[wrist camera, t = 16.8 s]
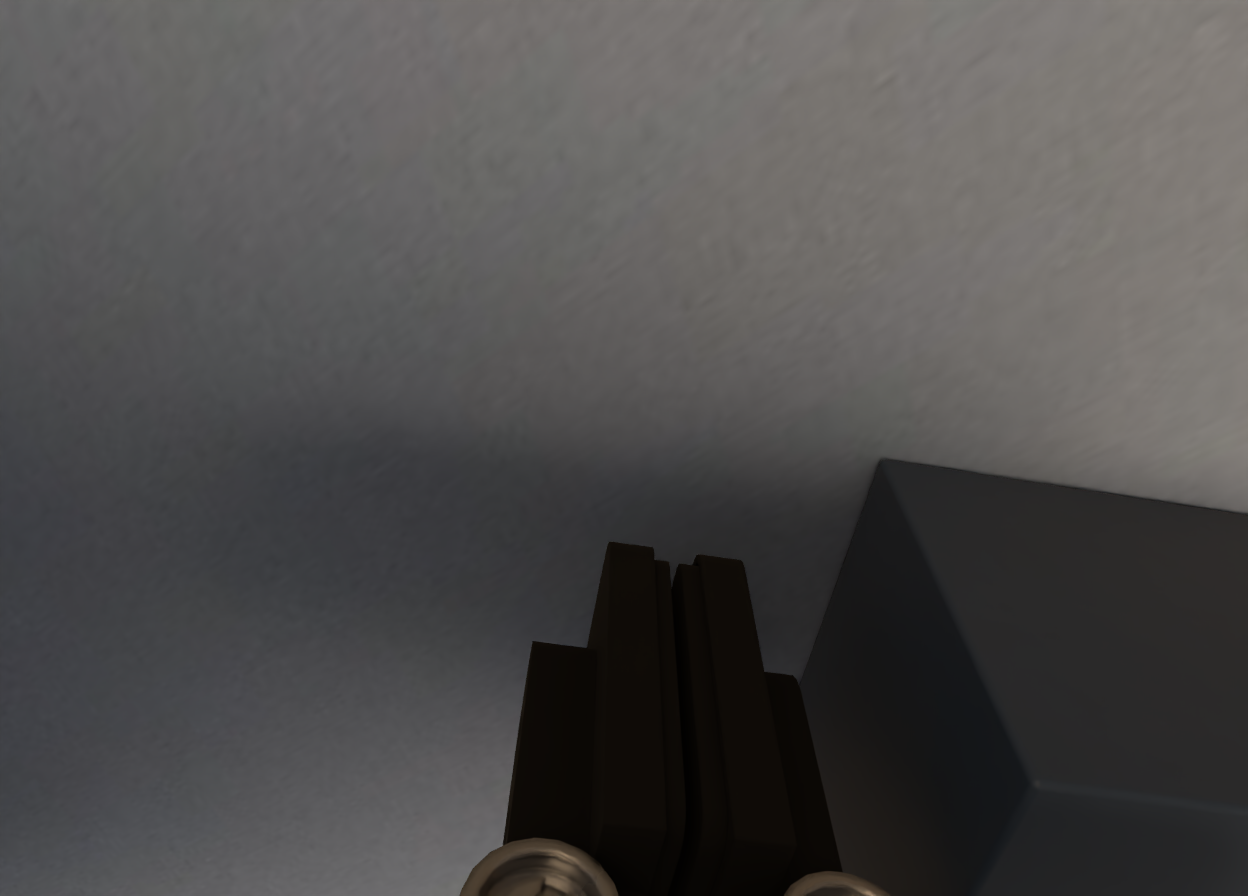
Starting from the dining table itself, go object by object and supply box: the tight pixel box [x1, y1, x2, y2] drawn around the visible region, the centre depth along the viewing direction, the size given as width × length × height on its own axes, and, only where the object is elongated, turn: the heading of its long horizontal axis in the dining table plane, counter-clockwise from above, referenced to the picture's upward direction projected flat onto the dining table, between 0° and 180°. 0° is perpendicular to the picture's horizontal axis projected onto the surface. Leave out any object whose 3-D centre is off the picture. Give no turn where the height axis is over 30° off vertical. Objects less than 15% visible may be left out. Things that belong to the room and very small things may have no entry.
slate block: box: [799, 460, 1248, 896], centre depth 11 cm, size 5×5×5 cm
